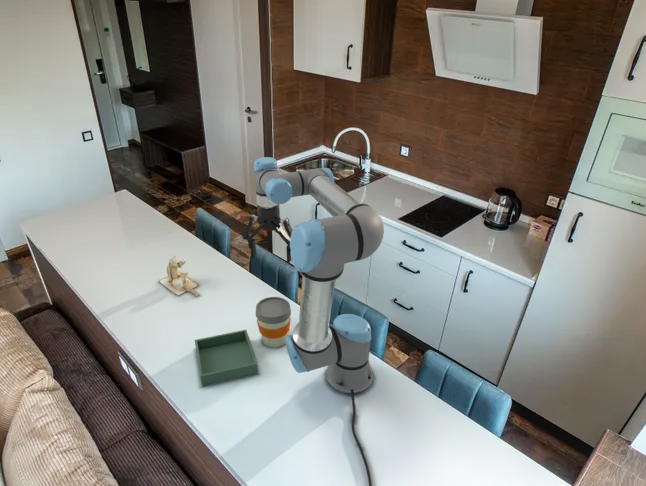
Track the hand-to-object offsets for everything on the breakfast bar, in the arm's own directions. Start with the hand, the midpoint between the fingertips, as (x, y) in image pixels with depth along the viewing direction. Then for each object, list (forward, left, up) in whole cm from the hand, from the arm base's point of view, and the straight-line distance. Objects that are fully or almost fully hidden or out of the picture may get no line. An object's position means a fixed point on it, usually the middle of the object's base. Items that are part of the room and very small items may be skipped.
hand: (271, 258), depth 164 cm
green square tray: (-19, +22, -26) cm, 40 cm away
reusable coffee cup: (-13, +3, -27) cm, 30 cm away
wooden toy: (+33, +33, -27) cm, 54 cm away
